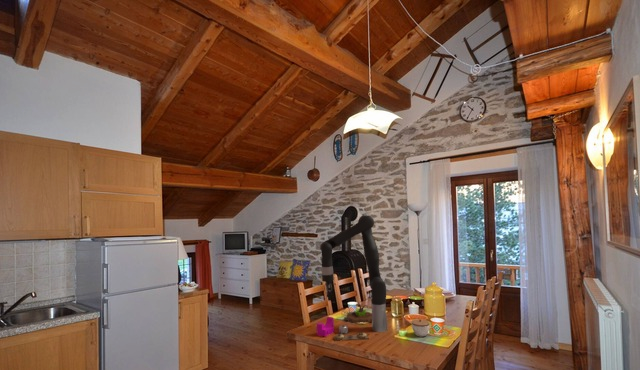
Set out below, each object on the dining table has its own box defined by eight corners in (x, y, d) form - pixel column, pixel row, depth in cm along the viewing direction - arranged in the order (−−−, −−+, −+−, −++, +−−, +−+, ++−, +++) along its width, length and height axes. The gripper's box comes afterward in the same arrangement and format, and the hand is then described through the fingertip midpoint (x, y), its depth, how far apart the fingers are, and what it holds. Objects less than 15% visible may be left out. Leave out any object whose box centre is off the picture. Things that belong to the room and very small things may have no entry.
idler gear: (347, 330, 229) (347, 324, 230) (348, 333, 224) (348, 327, 224) (338, 331, 229) (338, 324, 229) (339, 334, 224) (339, 327, 224)
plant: (342, 316, 260) (342, 300, 261) (367, 313, 266) (366, 298, 267) (353, 325, 241) (352, 308, 242) (379, 321, 247) (378, 305, 248)
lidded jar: (413, 330, 227) (413, 315, 227) (431, 332, 222) (430, 317, 222) (410, 336, 217) (409, 320, 217) (428, 338, 212) (427, 323, 213)
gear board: (366, 335, 220) (366, 330, 220) (368, 339, 214) (368, 334, 214) (333, 337, 218) (333, 332, 219) (334, 341, 212) (334, 336, 212)
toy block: (325, 337, 220) (325, 325, 220) (317, 335, 223) (316, 323, 223) (337, 329, 232) (336, 318, 233) (328, 328, 236) (328, 317, 236)
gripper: (334, 275, 222) (336, 301, 221) (332, 270, 236) (333, 295, 235) (322, 276, 221) (324, 302, 220) (320, 271, 235) (322, 296, 234)
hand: (329, 298), depth 228 cm, fingers open, 8 cm apart
